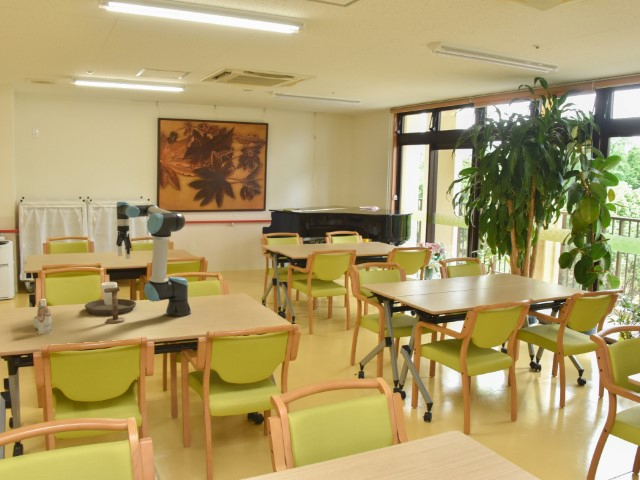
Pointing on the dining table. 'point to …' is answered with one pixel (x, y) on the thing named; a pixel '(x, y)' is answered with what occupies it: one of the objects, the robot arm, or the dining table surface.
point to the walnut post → (114, 306)
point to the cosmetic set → (43, 318)
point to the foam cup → (109, 295)
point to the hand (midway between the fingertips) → (124, 257)
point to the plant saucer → (109, 307)
